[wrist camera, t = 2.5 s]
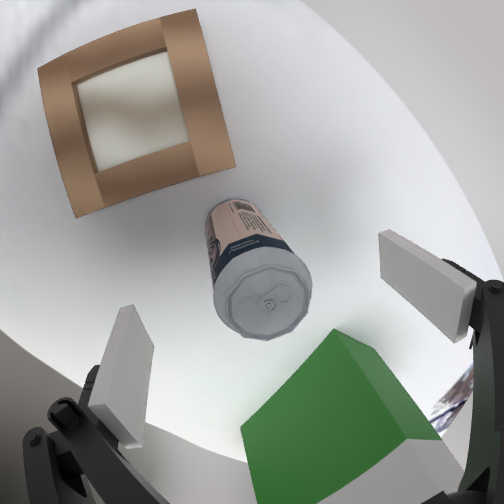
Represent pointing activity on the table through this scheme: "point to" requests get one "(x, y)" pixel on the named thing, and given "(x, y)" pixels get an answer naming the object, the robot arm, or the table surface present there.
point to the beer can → (254, 273)
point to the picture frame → (134, 112)
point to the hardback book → (345, 435)
